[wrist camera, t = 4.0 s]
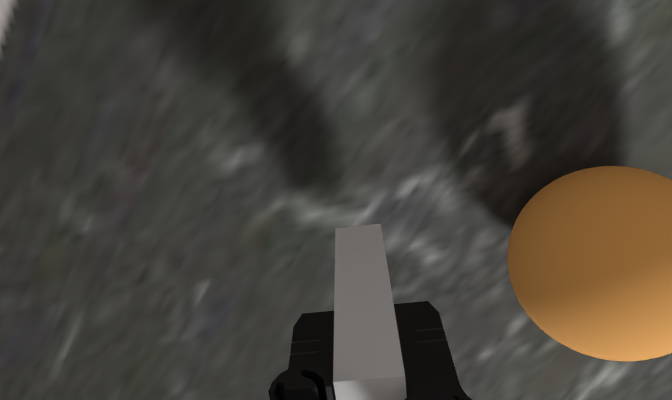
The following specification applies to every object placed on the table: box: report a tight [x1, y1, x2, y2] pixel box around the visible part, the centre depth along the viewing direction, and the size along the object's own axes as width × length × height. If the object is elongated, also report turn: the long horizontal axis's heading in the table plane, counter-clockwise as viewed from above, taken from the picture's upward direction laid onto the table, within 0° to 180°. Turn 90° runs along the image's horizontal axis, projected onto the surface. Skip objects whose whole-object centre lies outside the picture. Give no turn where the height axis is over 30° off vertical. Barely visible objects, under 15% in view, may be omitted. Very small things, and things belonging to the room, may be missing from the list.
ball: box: [507, 166, 672, 361], centre depth 15 cm, size 6×6×6 cm
